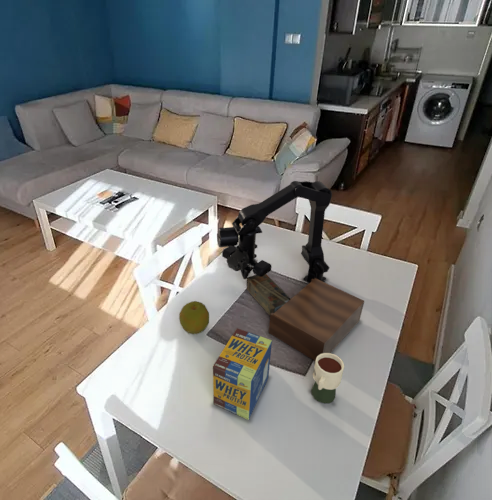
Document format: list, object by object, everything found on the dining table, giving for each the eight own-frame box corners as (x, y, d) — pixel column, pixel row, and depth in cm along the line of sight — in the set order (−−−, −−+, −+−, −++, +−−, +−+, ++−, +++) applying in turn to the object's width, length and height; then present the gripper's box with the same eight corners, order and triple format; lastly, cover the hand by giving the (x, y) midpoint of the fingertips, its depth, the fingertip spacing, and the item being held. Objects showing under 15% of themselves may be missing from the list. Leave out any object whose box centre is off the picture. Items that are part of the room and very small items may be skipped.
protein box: (212, 405, 103) (211, 366, 95) (236, 364, 114) (236, 326, 106) (249, 421, 99) (251, 382, 90) (269, 377, 110) (273, 338, 102)
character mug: (318, 375, 110) (324, 344, 103) (342, 387, 107) (351, 355, 100) (302, 402, 103) (308, 370, 96) (327, 416, 99) (335, 384, 92)
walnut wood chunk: (309, 296, 140) (312, 276, 135) (359, 321, 128) (364, 300, 124) (268, 332, 125) (270, 312, 120) (320, 364, 114) (324, 343, 109)
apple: (187, 315, 133) (185, 291, 127) (213, 322, 130) (213, 297, 124) (175, 335, 125) (173, 310, 119) (203, 342, 122) (202, 317, 116)
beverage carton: (273, 321, 129) (274, 306, 126) (245, 289, 144) (245, 275, 140) (293, 314, 132) (294, 299, 128) (263, 284, 147) (264, 270, 143)
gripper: (211, 242, 134) (211, 277, 143) (253, 263, 123) (250, 300, 132) (232, 230, 141) (231, 265, 149) (274, 249, 130) (270, 286, 138)
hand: (245, 278), depth 142 cm, fingers closed
